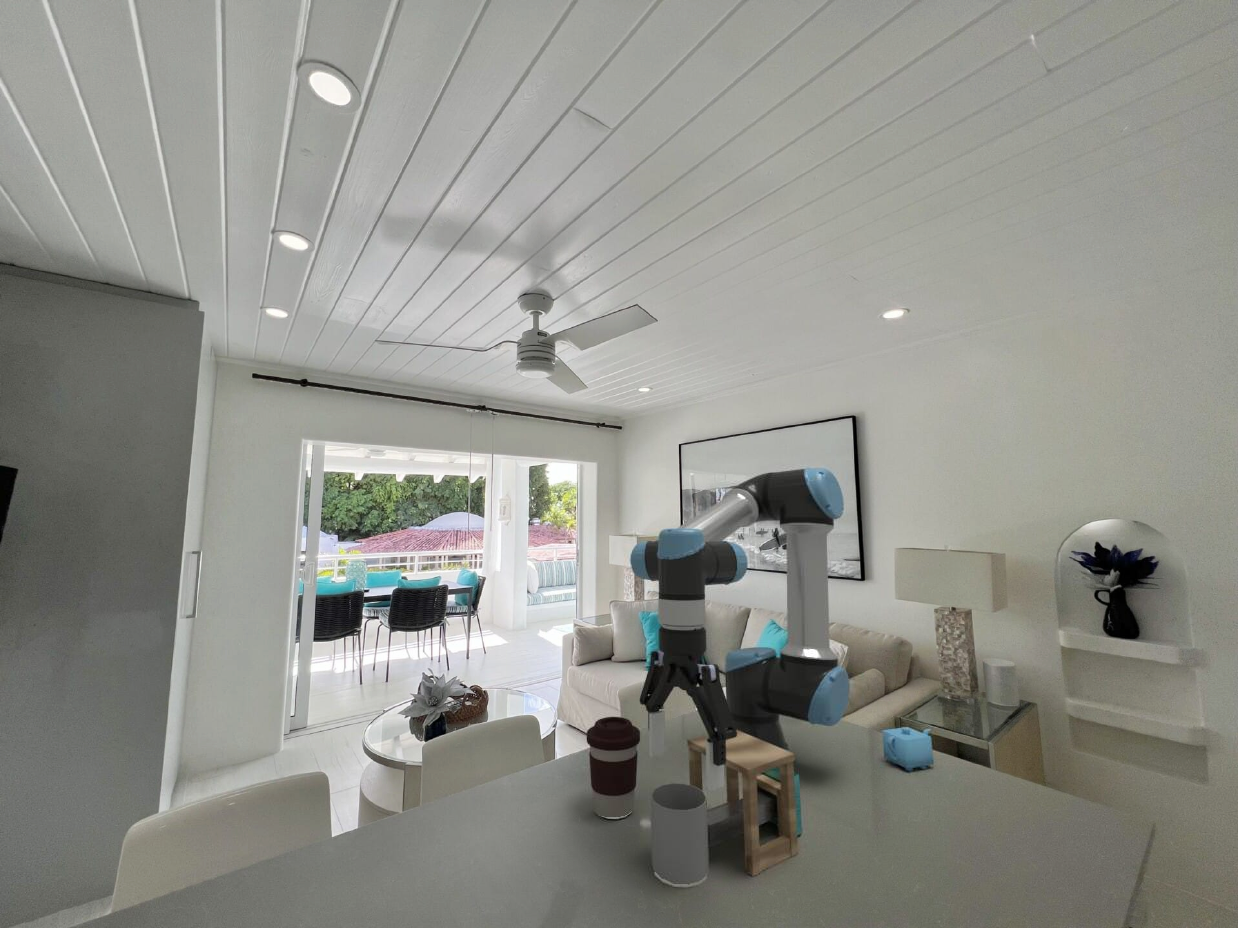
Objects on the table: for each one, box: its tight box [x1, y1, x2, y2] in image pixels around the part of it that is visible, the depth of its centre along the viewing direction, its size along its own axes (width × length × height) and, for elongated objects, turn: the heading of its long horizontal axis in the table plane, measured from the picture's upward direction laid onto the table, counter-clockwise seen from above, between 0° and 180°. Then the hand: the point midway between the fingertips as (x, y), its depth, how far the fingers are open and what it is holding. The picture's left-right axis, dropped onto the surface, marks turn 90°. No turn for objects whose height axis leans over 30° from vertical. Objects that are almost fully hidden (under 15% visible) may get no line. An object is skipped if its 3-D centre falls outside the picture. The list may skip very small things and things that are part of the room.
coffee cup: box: [586, 716, 641, 817], centre depth 93 cm, size 10×10×15 cm
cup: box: [650, 782, 710, 885], centre depth 76 cm, size 8×8×10 cm
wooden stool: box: [686, 730, 799, 877], centre depth 84 cm, size 14×13×14 cm
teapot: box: [881, 726, 934, 772], centre depth 111 cm, size 12×6×8 cm, turn 107°
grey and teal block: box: [707, 766, 803, 848], centre depth 83 cm, size 18×8×9 cm, turn 123°
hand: (684, 770), depth 78 cm, fingers open, 13 cm apart
